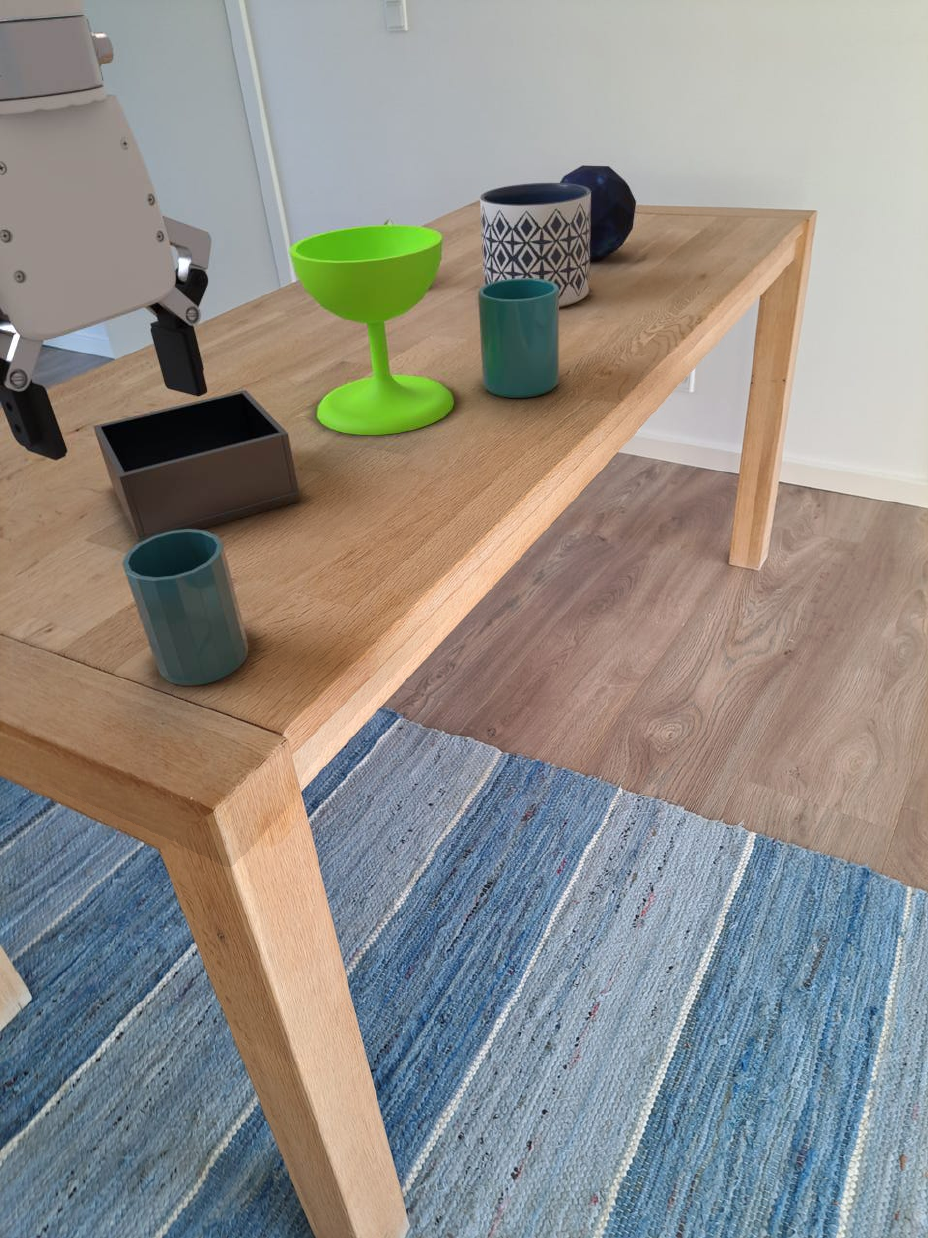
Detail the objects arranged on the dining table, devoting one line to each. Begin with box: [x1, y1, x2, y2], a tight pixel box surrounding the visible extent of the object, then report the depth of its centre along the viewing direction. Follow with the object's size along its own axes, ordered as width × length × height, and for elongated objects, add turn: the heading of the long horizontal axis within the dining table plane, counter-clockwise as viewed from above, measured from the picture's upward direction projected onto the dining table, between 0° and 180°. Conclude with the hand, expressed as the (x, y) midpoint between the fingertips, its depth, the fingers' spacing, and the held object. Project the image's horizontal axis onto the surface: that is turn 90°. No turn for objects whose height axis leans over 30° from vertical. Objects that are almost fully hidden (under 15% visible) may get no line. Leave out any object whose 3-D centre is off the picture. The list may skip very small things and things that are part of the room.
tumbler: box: [121, 529, 249, 687], centre depth 63 cm, size 7×7×9 cm
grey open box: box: [93, 389, 301, 543], centre depth 85 cm, size 15×13×7 cm
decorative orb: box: [559, 164, 637, 262], centre depth 147 cm, size 14×15×15 cm
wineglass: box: [289, 224, 455, 436], centre depth 98 cm, size 16×16×18 cm
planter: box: [479, 182, 591, 308], centre depth 131 cm, size 16×16×14 cm
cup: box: [477, 278, 560, 399], centre depth 103 cm, size 9×12×11 cm
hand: (121, 420), depth 51 cm, fingers open, 9 cm apart
